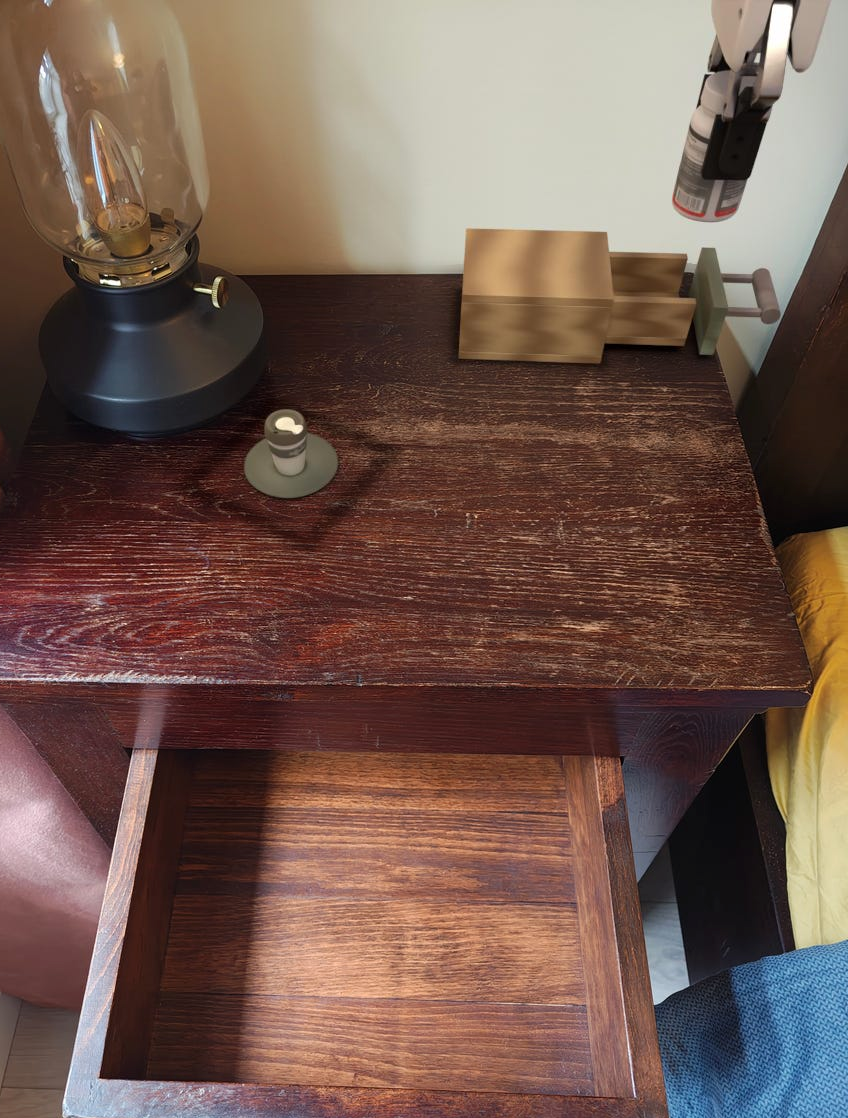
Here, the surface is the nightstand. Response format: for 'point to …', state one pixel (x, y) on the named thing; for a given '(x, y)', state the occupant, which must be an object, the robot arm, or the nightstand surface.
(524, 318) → the cabinet
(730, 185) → the pill bottle
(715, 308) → the drawer
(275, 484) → the coffee cup
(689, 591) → the nightstand surface
